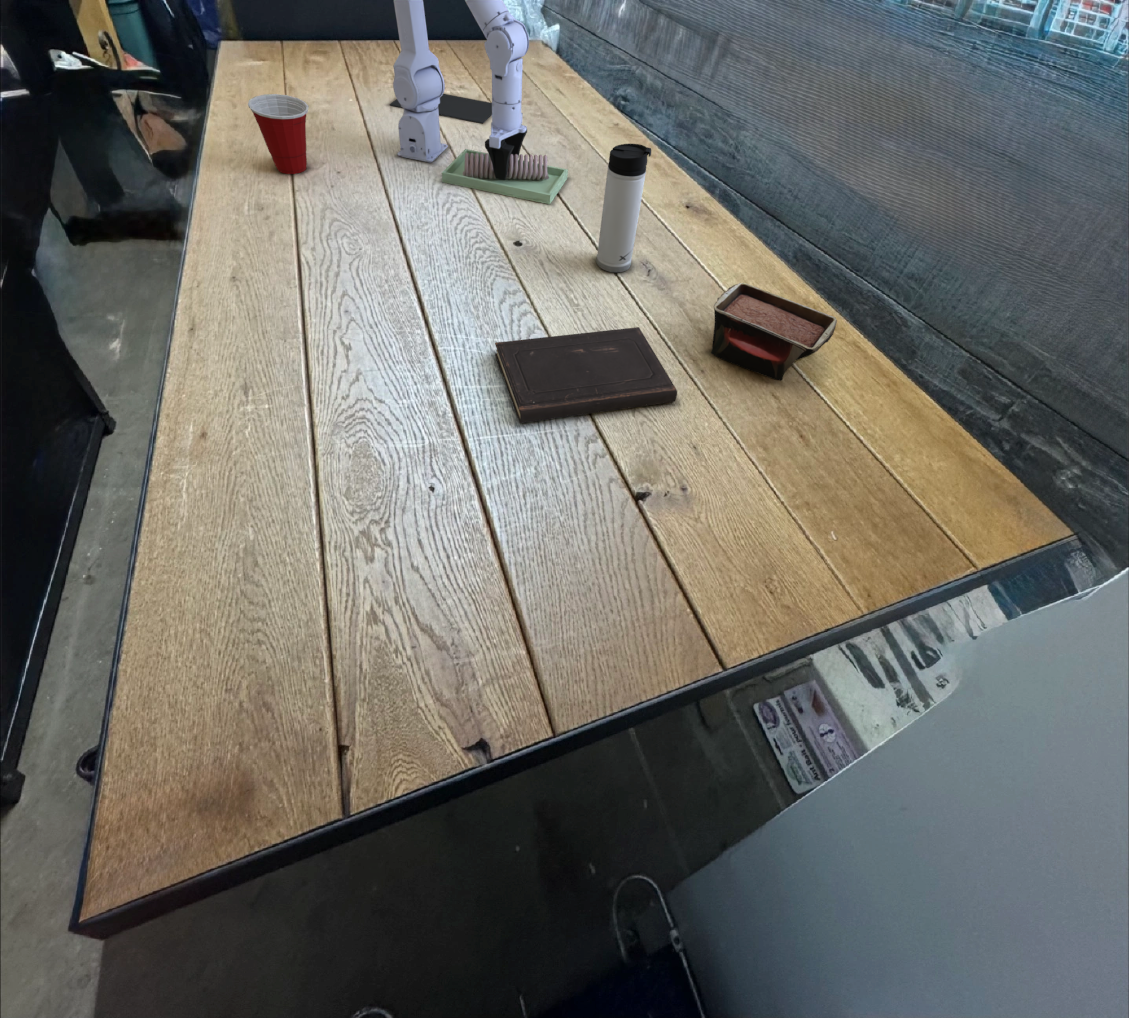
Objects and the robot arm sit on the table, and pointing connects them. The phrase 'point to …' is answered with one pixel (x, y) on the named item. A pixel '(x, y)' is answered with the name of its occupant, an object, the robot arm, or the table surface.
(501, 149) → the robot arm
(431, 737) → the table surface
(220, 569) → the table surface
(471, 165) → the coil
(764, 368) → the baking dish
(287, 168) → the plastic cup
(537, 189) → the tray
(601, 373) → the hardcover book
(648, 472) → the table surface
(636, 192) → the travel mug
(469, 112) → the mat
